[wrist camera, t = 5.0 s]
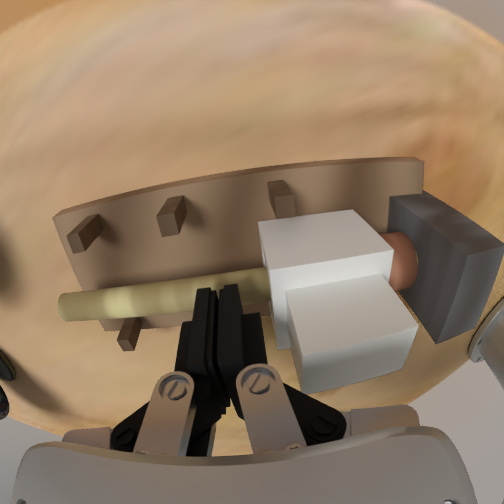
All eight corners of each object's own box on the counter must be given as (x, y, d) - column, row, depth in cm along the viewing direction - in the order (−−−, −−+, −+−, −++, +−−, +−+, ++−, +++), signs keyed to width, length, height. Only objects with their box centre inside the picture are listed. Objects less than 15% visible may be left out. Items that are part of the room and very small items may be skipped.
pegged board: (419, 157, 14) (515, 203, 7) (405, 276, 19) (462, 351, 12) (61, 210, 14) (-17, 281, 7) (109, 320, 19) (76, 408, 12)
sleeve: (352, 209, 14) (438, 299, 7) (349, 278, 16) (405, 379, 9) (257, 221, 14) (283, 334, 7) (266, 292, 16) (288, 409, 9)
